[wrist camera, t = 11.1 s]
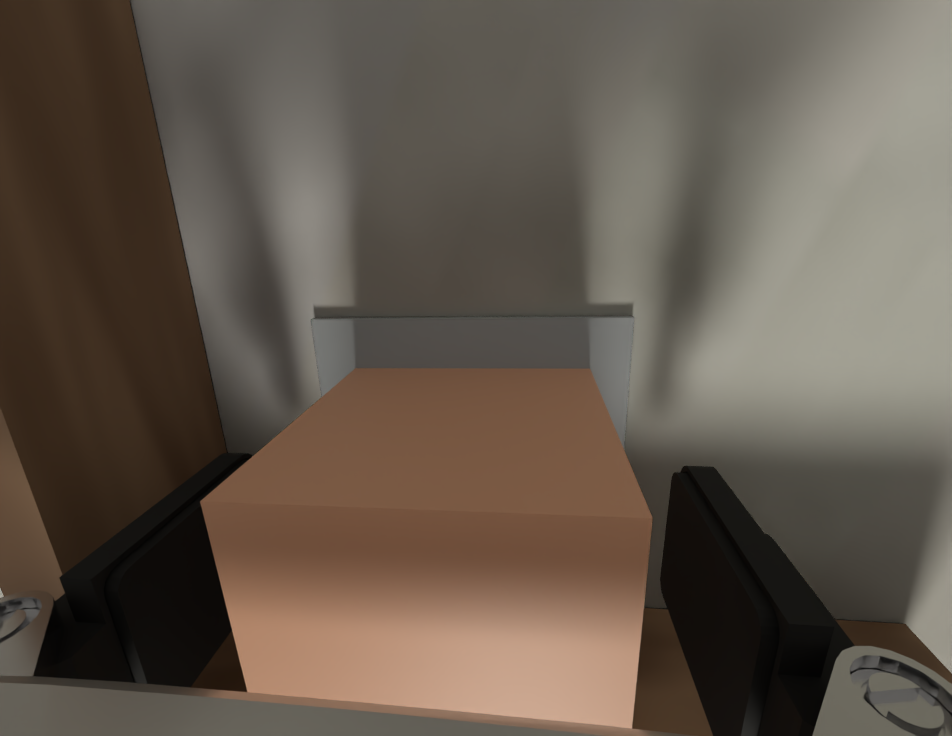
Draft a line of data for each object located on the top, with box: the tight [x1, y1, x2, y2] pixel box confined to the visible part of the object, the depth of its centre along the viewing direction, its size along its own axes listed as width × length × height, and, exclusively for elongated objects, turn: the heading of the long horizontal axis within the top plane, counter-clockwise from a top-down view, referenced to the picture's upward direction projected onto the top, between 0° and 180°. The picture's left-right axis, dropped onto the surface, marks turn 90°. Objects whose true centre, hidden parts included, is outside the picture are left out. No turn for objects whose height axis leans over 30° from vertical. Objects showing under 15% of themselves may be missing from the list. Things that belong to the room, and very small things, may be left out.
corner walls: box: [0, 0, 952, 736], centre depth 9 cm, size 21×18×5 cm
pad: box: [311, 316, 634, 448], centre depth 13 cm, size 8×8×1 cm
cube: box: [200, 368, 653, 728], centre depth 10 cm, size 6×6×6 cm
